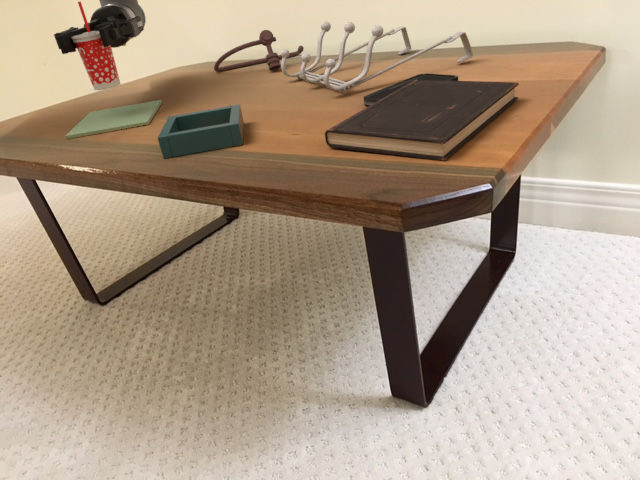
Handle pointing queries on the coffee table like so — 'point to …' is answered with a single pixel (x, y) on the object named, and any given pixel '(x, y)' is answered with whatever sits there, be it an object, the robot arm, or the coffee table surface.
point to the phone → (388, 90)
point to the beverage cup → (96, 58)
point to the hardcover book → (424, 118)
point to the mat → (115, 119)
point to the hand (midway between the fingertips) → (82, 41)
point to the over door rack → (377, 35)
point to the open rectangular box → (202, 131)
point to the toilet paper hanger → (271, 59)
